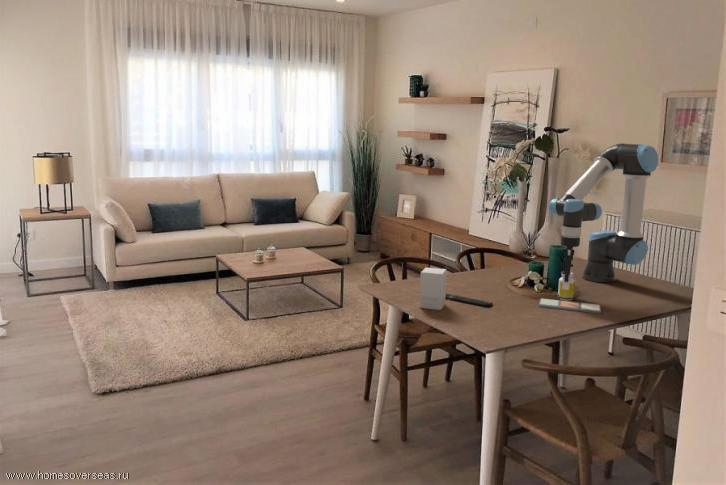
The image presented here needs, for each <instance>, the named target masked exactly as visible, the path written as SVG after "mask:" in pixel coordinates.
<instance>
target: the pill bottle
mask: <svg viewBox="0 0 726 485" xmlns="http://www.w3.org/2000/svg"><path fill="white" fill-rule="evenodd" d="M562 272H564V270H563V271H562ZM573 277H574V272H572V271H571V274H570V284H569V290H567V289H562V285H563V274H562V273H561V277H560V278H559V279H558V289H557V291H558V292H557V296H558V295H559V297H560V299H559V300H561V301H570V302H571V301H572V300H574V295H575V284H576V281H575V278H573Z"/></svg>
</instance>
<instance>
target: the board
mask: <svg viewBox="0 0 726 485" xmlns="http://www.w3.org/2000/svg"><path fill="white" fill-rule="evenodd" d="M538 307H540V308H547V309H555V310H556V309H557V310H564V311H566V310H567V311H572V312H573V311H575V312H584V313H592V314H599V315H600V314H602V309H601V308H602V307H601V304H596V303H588V302H577V301H571V300H570V301H565V300H561V299H559V300H558V299H551V298H542V297H541V298H539V303H538Z"/></svg>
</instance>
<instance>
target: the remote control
mask: <svg viewBox="0 0 726 485" xmlns="http://www.w3.org/2000/svg"><path fill="white" fill-rule="evenodd" d="M448 299H449V301H454V302H457V303H463V304H468V305H469V304H470V305H473V306H478V307H483V308H491V307H492V306H493V302H490V301H485V300H482V299H481V300H480V299H477V298H475V299H474V298H471V297H464V296H460V295H456V294H450V293H446V295H445V300H448Z"/></svg>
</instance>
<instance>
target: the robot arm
mask: <svg viewBox="0 0 726 485" xmlns="http://www.w3.org/2000/svg"><path fill="white" fill-rule="evenodd" d="M658 165H659V154H658V152H657V151H656V149H655V147H653V146H652V145H648V144H638V143H637V144H634V143H623V142H622V143H621V142H620V143H616V144H614V145H611V146H609V147H607V148H606V149H605V150H602V152H600V153H599V154H598V155H597V156H596V157H595V158H594V159H593V162H592V164H591V165H590V167H588V169H587V170H586V171H585V172H584V173H583V174H582V175H581V176H580V177H579V178H578V179H577V180H576V181H575V183H574V184H572V186H571V187H570V188H568V190H567V191H566V192H565V193H564V194H563V195H562V196H561V198H559V197H556V198H553V199H552V200H550V202H549V205H548V210H549V212H550V214H552V215H554V216H557V217H563V219H562V227H560V230H561V235H562V236H561V237H560V238H561V239H560V245H561V246H563V247H566V248H564V252H563V254H564V257H563V258H564V269H563V271H564V272H563V271H561V275H562V274H563V285H562V289H567V290H569V284H570V274H571V272H572V268H573V267H574V265H573V264H572V261H573V260H574V255H575V249H573V248H576V247H579V246H580V244H581V238H580V237H581V234H582V222H589V221H590V222H593V221H596V220H598V219H600V217H601V216H602V214H603V210H602V207H601V205H600V204H599V203H597V202H584V199H585V198H586V197H587V196H588V195H589V194H590V192H592V191H593V189H594V188H595V187H596V186H597V185H598V184H599V183H600V182H601V181H602V180H603V179H604V178H605V177H606V175H609V174H611V173H613V171H615V170H622V176H624V178H625V181H624V191H623V200H622V209H621V220H620V229H619V230H618V231H617V232H616V231H614V230H599V231H593V232H591V233H590V236H589V239H588V251H587V260H586V264H585V266H584V268H583V270H582V273H581V274H582V275H581V278H582V279H584V280H587V281H590V282H594V283H595V282H596V283H613V282H615V281H616V280H617V276H616V270H615V267H614V262H617V263H618V262H620V263H623V264H626V265H631V266H632V265H633V266H636V265H639V264H641V263H642V262H643V260H645V259H646V257H647V255H648V250H649V246H648V242H647V241H646V240H644V234H643V233H642V232H641V228H642V220H643V211H644V203H645V194H646V185H647V179H648V178H650V177H651V174H652V173H653V172H654V171H656V169H657V167H658Z"/></svg>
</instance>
